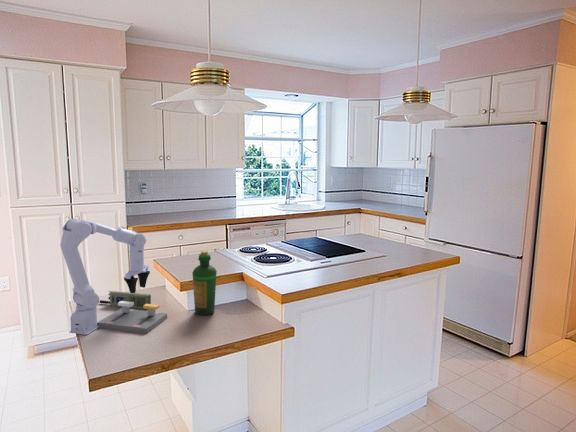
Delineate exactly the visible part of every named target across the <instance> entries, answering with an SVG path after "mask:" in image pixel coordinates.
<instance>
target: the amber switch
mask: <svg viewBox="0 0 576 432" xmlns="http://www.w3.org/2000/svg"><path fill="white" fill-rule="evenodd" d="M143 308H145V309H144V310H147V311H148V315H149V316H154V315H155V312H156V310H158V309H159V308H160V304H154V303H151V304H145V305H143Z"/></svg>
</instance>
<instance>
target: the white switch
mask: <svg viewBox="0 0 576 432" xmlns="http://www.w3.org/2000/svg"><path fill="white" fill-rule="evenodd" d="M133 305H134V302H127V301H120V302H118V306H117V307H119V306H122V307H121V308H122V312H123V313H128V312H130V309H131V308H130V307H131V306H133Z"/></svg>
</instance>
